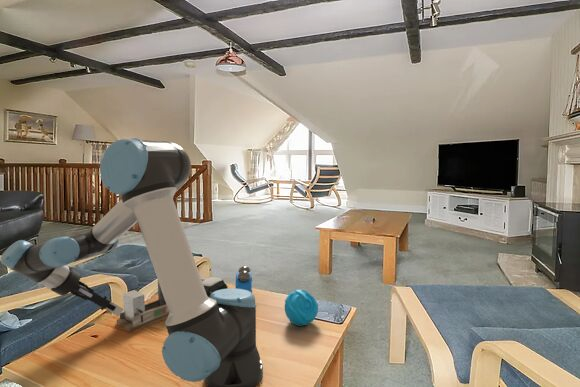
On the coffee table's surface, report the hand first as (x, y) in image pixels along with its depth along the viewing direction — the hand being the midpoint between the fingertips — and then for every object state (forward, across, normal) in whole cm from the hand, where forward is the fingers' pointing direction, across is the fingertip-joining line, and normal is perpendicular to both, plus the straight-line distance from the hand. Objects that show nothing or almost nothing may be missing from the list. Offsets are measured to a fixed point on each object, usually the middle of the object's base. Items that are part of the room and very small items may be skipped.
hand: (120, 312), depth 112 cm
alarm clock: (+32, +20, +23) cm, 44 cm away
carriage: (+6, +1, 0) cm, 6 cm away
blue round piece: (+33, +46, +24) cm, 62 cm away
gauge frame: (+12, 0, +3) cm, 12 cm away
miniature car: (+28, +4, +19) cm, 35 cm away
